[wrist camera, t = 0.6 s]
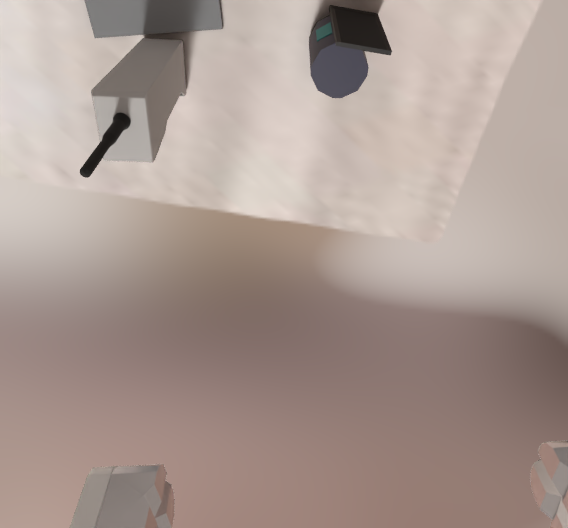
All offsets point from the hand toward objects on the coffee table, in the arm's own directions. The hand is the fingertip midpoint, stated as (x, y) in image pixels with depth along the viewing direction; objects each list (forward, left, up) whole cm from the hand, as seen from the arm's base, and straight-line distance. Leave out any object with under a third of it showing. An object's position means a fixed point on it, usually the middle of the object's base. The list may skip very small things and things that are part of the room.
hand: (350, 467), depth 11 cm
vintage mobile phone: (+2, -12, -44) cm, 46 cm away
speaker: (+1, +5, -44) cm, 45 cm away
